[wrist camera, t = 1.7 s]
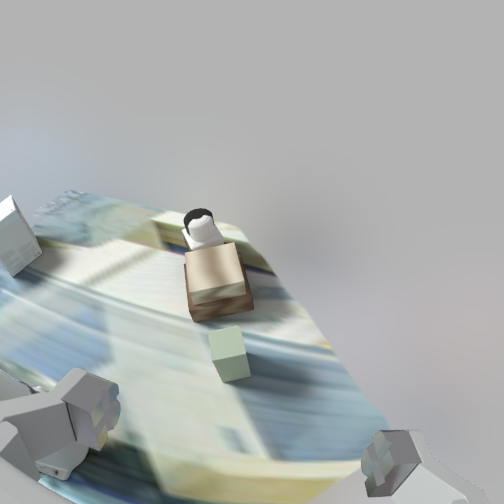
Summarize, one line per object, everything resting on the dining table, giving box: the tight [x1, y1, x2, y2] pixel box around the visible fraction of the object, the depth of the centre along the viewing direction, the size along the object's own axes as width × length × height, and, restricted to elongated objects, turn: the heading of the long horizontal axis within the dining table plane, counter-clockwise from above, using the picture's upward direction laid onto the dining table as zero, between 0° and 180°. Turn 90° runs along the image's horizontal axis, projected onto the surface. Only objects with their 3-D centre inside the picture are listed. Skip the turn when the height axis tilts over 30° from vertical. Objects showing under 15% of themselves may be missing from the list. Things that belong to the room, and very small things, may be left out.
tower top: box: [185, 243, 246, 305], centre depth 59 cm, size 10×10×4 cm
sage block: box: [208, 325, 251, 382], centre depth 48 cm, size 5×5×10 cm
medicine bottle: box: [182, 208, 224, 252], centre depth 66 cm, size 7×7×12 cm
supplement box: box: [0, 195, 43, 277], centre depth 69 cm, size 13×13×18 cm
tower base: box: [184, 252, 254, 322], centre depth 62 cm, size 12×12×4 cm
